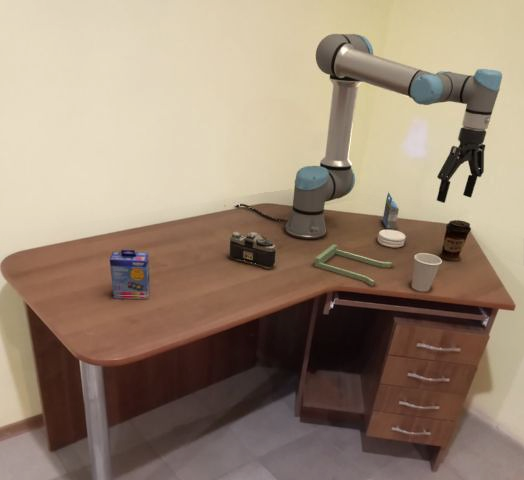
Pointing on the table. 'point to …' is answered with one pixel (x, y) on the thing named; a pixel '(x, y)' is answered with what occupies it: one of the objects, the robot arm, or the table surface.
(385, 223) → the label tape box
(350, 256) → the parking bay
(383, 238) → the coaster
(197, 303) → the table surface
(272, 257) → the camera
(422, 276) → the dixie cup
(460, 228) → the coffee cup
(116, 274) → the ink cartridge box
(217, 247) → the table surface
